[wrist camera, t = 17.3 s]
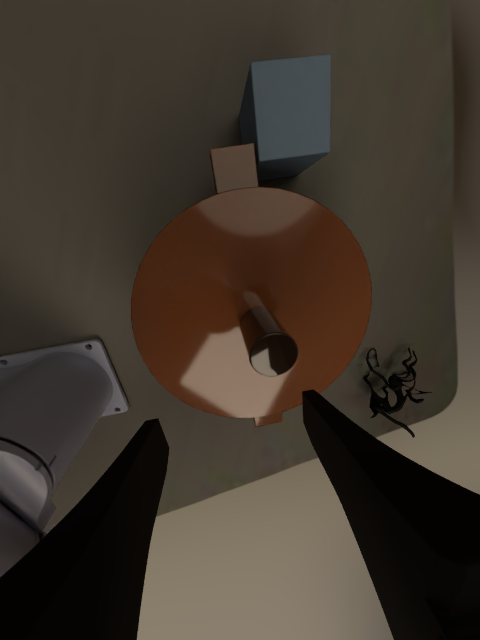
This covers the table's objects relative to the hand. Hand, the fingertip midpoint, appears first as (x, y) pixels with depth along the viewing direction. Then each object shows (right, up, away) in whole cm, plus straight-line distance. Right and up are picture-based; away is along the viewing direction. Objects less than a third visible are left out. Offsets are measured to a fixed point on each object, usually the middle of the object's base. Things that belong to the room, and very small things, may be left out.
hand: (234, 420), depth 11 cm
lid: (+1, +5, +4) cm, 6 cm away
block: (+2, +17, +5) cm, 18 cm away
